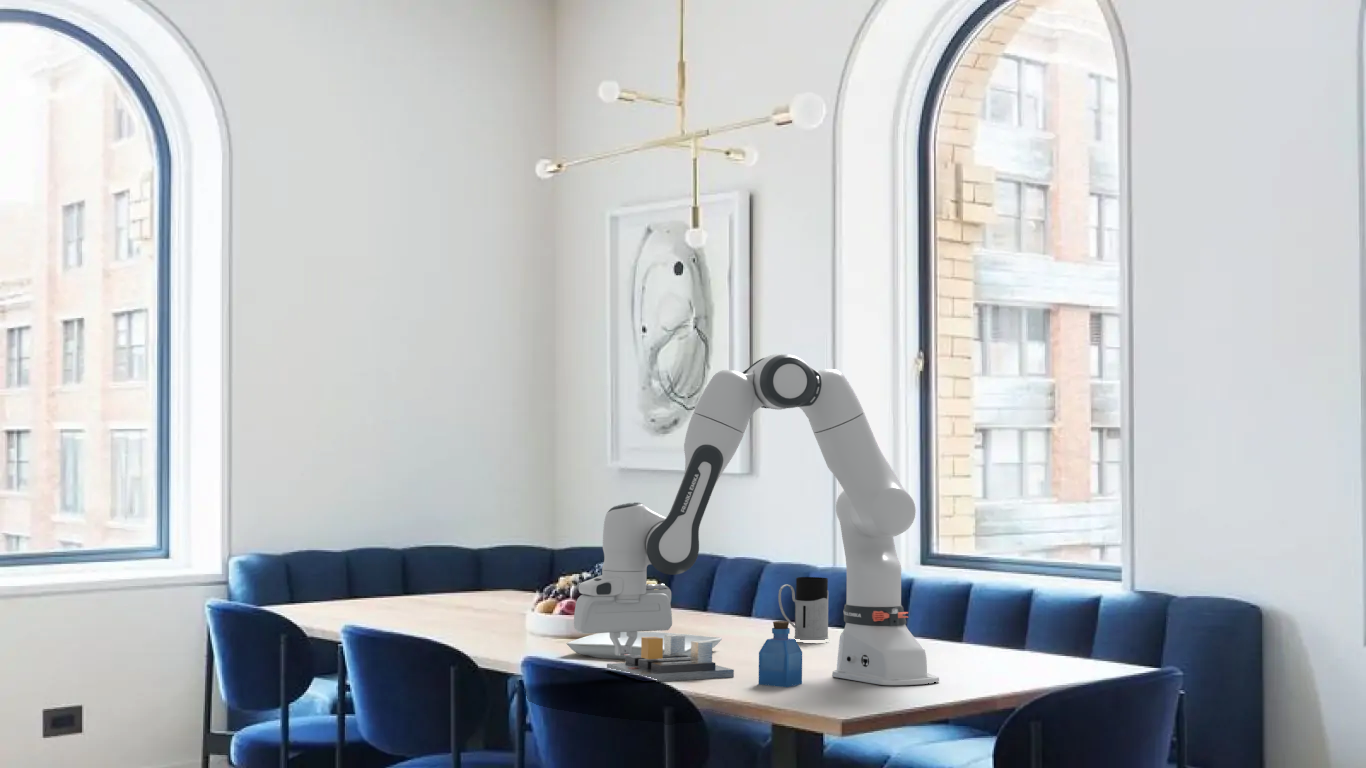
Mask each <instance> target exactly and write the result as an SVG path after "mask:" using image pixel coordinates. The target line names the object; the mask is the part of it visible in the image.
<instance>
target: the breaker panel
mask: <svg viewBox="0 0 1366 768" xmlns="http://www.w3.org/2000/svg"><path fill="white" fill-rule="evenodd" d="M679 634H680V633H678V634H672V635H664V654H663V659H645V658H641V655H629V656H626V659H625V662H617V663H606V669H607V668H611V669H616V670H621V671H626V672H630V673H635V674H639V675H643V676H647V677H651V678H654V679H657V680H660V681H659V682H669V681H670V682H672V681H687V680H688V681H692V680H707V679H723V678H725V679H726V678H734V677H735V676H734V675H735V669H733V668H729V667H725V666H722V665H717V664H716V662H714V661H713V648H712V642H709V641H691V657H688V656H687V655H685V636H684V635H679Z"/></svg>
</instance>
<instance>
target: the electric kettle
mask: <svg viewBox="0 0 1366 768" xmlns="http://www.w3.org/2000/svg"><path fill="white" fill-rule="evenodd" d="M795 579H796V581H795V582H796V584H795V585H796V586H795V589H794V587H793V586H792V585H790V584H787V583H786V584H783V585H781V586H780V588H779V590H778V605H779V609H780V612H781V614H782V616H783V618H784V619H785V620H786V622H789V625H791V626H792V627H793V628H794V637H793V639H794V638H795V639H800V640H825V639H829V590H828V586H829V578H827V577H821V576H820V577H819V576H816V577H815V576H801V577H796V578H795ZM785 587H789V588H790V590H791V597H792V601H793V603H794V622H792V621H791V620H790V619H789V617H788V616H787V615H786V613H785V611H784V607H783V604H782V591H783V589H784V588H785Z"/></svg>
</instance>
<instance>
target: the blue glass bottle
mask: <svg viewBox="0 0 1366 768" xmlns="http://www.w3.org/2000/svg"><path fill="white" fill-rule="evenodd" d="M772 623H773V627H772V628H771V633H772V634H773V635H772V636H773V638H768V639H766V640H765V642H764V644H763V645H762V646H761V649H760V650H759V651H758V685H759V686H771V687H777V688H778V687H779V688H790V687H794V686H798V685H802V683H803V651H802V649H801V647H800V646H799V643H797V642H796V640H795V639H794V638H789V634H790V632H791V631H790V630H791V628H790V627H789V625H790V623H789V622H788V621H787V620H786V621H784V620H782V621H781V620H776V621H775V620H774V621H772Z"/></svg>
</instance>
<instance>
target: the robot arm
mask: <svg viewBox="0 0 1366 768" xmlns="http://www.w3.org/2000/svg"><path fill="white" fill-rule="evenodd" d="M852 387H853V386H851V384H850V382H849V381H848V379H847V377H846V376H845V375H844V374H843V373H842V372H841V371H840V370H838V369H833V368H824V369H820V370H816V369H814V367H812V366H810V365H809V364H808V363H807V362H806V361H804V359H801V358H800V357H798V356H796V355H793V354H788V353H787V354H783V353H774V354H772V355H768V356H766V357H762V358H760V359H759V360H757V361H755V362H754V363H753V364H751V366H749V367H748V368H747V369H746V370H744V371H742V372H740V371H738V370H734V369H733V370H732V369H724V370H720V371H718V372H715V374H714V375H713V376H712V378H711V379H710V380H709V382H708V384H707V385H706V387H705V389H704V390H703V392H702V394H701V396H700V397H699V399H698V402H697V404H696V405H695V408H694V409H693V413H692V414H691V417H690V419H689V420H690V421H689V423H688V425H687V430H686V434H685V437H684V443H683V449H684V458H685V461H684V463H685V465H684V472H683V477H682V480H681V483H680V485H679V488H678V491H677V493H676V495H675V498H674V500H673V503H672V506H671V507H670V508H671V509H670V510H669V513H668V514H667V515H666V516H663V515H662V514H659V513H657V512H655V511H654V510H652V509H650V508H649V507H647V506H646V505H645V504H644V503H641V502H628V503H623V504H618V505H614V506H613V507H611V508H610V509H608V511H607V512H606V514H605V517H604V520H603V521H604V522H603V530H602V531H603V533H602V551H603V557H604V558H603V559H604V560H603V564H602V568H601V569H602V570H601V571H602V572H601V575H598V576H595V577H594V578H590V579H588V580H585V581H582V582H580V583H579V585H578V591H579V592H578V593H580V594H581V595H580V596H579V597H577V599H576V601H575V608H574V615H573V628H574V630H575V631H576V632H577V633H579V634H583V635H585V634H598V633H610V639H611V641H612V642H613V644H614V646H615V655H631V653H632V646H633V644H634V642H635V640H636V638H637V632H659V631H660V632H662V631H670V629H671V627H672V626H673V613H672V606H671V602H672V591H671V589H670V587H668V586H667V585H665V583H658V584H653V583H647V579H648V578H647V575H648V574H647V569H648V568H647V567H648V566H649V565H652V566H653V568H654V569H656V570H657V571H658V572H661V573H662V574H664V575H671V576H672V575H674V576H676V575H680V574H683V573H685V572H687V571H688V570H690V569H691V568H692V567H693V566H694V565H695V563H696V561H697V559H698V556H699V553H700V552H699V551H700V538H699V535H700V533H699V532H700V525H701V522H702V519H703V517H704V515H705V513H706V509H707V508H708V507H707V506H708V504H709V501H710V498H711V496H712V493H713V491H714V488H715V486H716V484H717V482H718V480H719V479H720V477H721V476H722V474H723V472H724V471H725V469H726V468H727V466H728V464H729V463H730V462H731V460H732V459H733V457H734V455H735V453H736V452H737V451H738V448H739V446H740V444H741V442H742V439H743V437H744V434H745V433H746V429H747V427H748V424H749V421H750V419H751V418H752V416H753V415H754V414H755V412H757V410H759V409H760V408H762V409H772V410H778V411H779V410H786V409H793V408H799V409H801V411H802V412H803V413H804V415H805V416H806V417H807V419H808V422H809V424H810V427H811V430H812V432H813V435H814V437H815V439H816V443H817V444H818V447H819V449H820V452H821V454H822V456H823V459H824V462H825V464H826V466H827V468H828V470H829V471H830V472H831V473H832V474H833V475H834V477H835V478H836V480H837V481H838V484H839V485H840V486H841V487H842V489H843V490H842V491H841V492H840V494H839V495H838V497H837V499H836V504H835V512H836V517H837V518H838V521H839V523H840V531H841V537H842V544H843V548H844V549H843V550H844V555H845V565H846V568H845V569H846V599H845V600H846V602H845V604H844V605H843V606H844V607H843V622H845V625H844V628H843V631H842V632H841V634H840V635H839V641H838V653H837V660H836V661H837V664H836V669H835V670H833V671H832V674H831V676H832V677H833V678H837V679H838V678H840V679H845V680H849V681H850V680H851V681H857V682H863V683H867V684H868V683H869V684H872V685H873V684H874V685H880V686H914V685H915V686H916V685H925V684H926V685H927V684H928V683H929V684H935V683H934V682H936V683H939V682H940V677H939V676H937V675H934V674H930V673H928V663H927V654H926V650H925V648H924V647H923V646H922V645H921V644H920V643H919V642H918V639H916V638H915V636H914V635H913V634H912V632H911V631H910V630H909V629H908V627H907V625H906V624H907V618H909V616H907V614H909V611H904V610H905V609H904V606H903V605H902V565H901V563H900V561H899V558H898V554H897V551H896V545H895V540H894V537H897V536H899V535H901V534H903V533H905V532H906V531H907V530H909V529H910V527H912V525H913V523H914V521H915V518H916V513H917V512H916V510H917V509H916V505H915V502H914V500H913V497H911V495H910V494H909V493H908V491H906V490H905V488H904V487H903V485H902V484H901V481H900V479H898V476H897V475H896V474H895V471H894V470H893V469H892V466H891V465H890V464H889V462H888V461H887V458H886V457H885V455H884V454H883V452H882V450H881V448H880V447H879V445H878V443H877V440H876V438H875V436H874V432H873V430H872V429H871V428H872V427H871V426H870V423H869V420H868V419H867V416H866V414H865V412H864V409H863V407H862V404H861V402H860V400H859V398H858V396H857V394H856V393H855V391H854V389H853V388H852ZM620 632H627V636H628V637H629V638H628V640H627V642H626V644H625V645H621V644H620V642H619V640H618V638H620ZM938 681H939V682H938Z"/></svg>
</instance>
